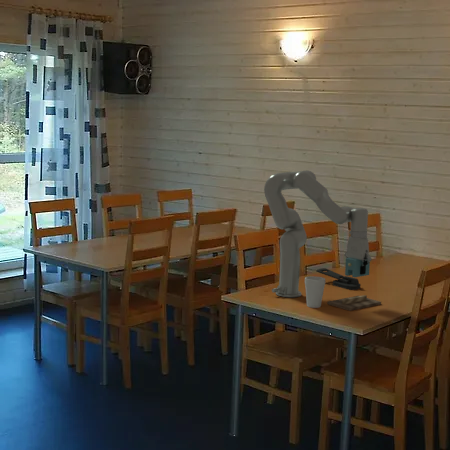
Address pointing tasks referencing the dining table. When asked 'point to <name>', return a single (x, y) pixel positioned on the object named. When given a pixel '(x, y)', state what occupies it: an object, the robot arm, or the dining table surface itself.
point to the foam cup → (314, 291)
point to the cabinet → (355, 267)
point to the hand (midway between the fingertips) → (357, 272)
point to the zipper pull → (341, 280)
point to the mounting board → (354, 303)
